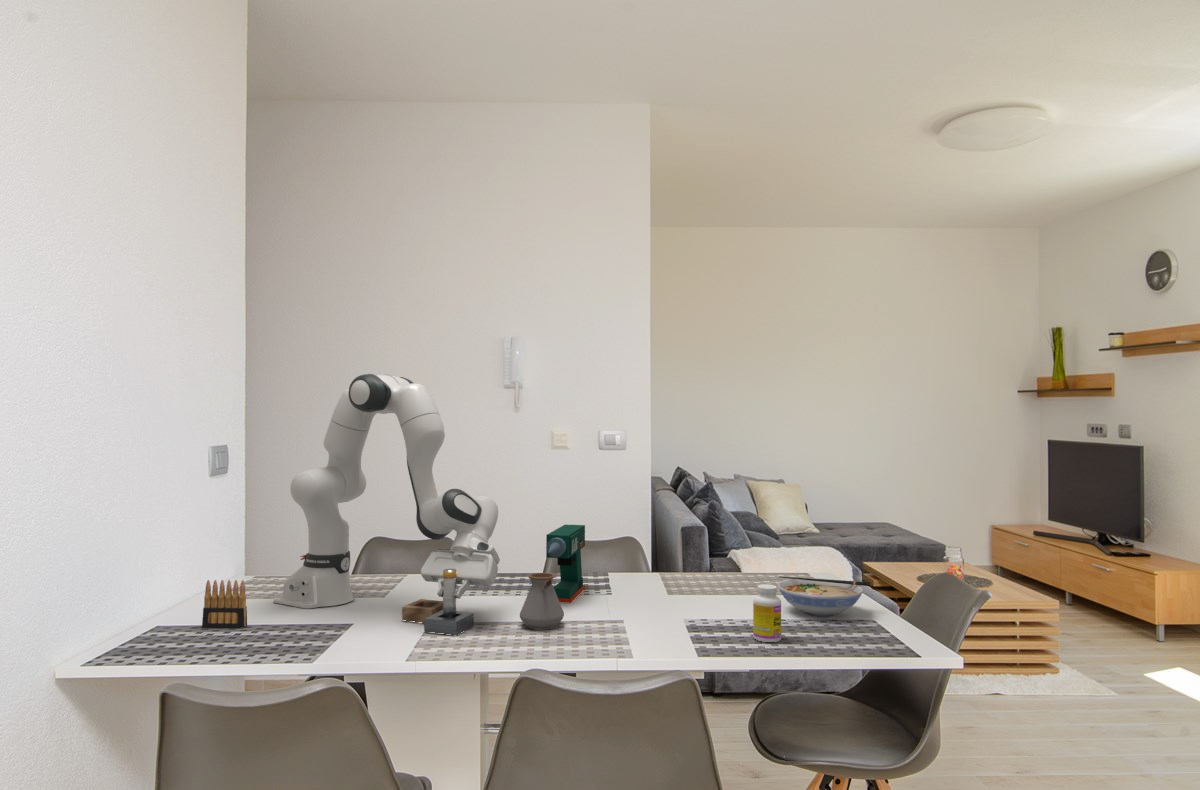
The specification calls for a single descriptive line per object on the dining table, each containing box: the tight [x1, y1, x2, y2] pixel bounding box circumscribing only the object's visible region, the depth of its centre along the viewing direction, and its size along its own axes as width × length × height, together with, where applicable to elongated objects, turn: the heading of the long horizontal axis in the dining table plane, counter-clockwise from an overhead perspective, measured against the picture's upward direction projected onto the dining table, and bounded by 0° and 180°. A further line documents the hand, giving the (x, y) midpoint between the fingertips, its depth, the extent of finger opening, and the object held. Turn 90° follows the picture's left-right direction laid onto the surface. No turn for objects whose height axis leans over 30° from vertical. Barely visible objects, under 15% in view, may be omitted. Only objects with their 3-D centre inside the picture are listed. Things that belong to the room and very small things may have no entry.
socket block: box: [423, 610, 475, 636], centre depth 190 cm, size 9×9×4 cm
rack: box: [401, 598, 443, 623], centre depth 200 cm, size 9×9×4 cm
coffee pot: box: [519, 572, 565, 630], centre depth 190 cm, size 21×12×15 cm, turn 11°
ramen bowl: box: [777, 576, 871, 617], centre depth 208 cm, size 25×23×8 cm
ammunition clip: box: [201, 579, 248, 629], centre depth 192 cm, size 11×2×12 cm, turn 90°
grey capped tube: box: [442, 568, 457, 619], centre depth 190 cm, size 3×3×15 cm
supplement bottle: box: [752, 583, 782, 643], centre depth 183 cm, size 7×7×13 cm
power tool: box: [545, 524, 586, 604], centre depth 221 cm, size 32×7×20 cm, turn 168°
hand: (448, 596), depth 190 cm, fingers closed on grey capped tube, 3 cm apart
